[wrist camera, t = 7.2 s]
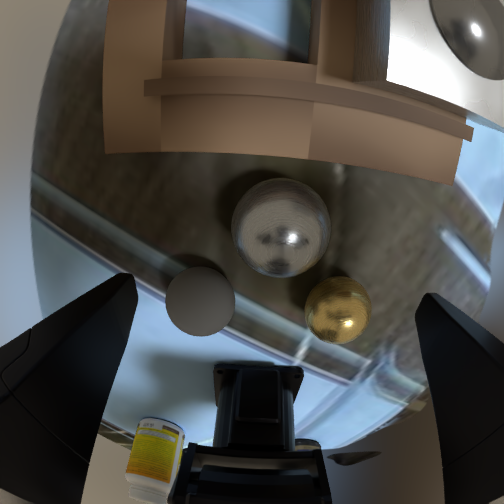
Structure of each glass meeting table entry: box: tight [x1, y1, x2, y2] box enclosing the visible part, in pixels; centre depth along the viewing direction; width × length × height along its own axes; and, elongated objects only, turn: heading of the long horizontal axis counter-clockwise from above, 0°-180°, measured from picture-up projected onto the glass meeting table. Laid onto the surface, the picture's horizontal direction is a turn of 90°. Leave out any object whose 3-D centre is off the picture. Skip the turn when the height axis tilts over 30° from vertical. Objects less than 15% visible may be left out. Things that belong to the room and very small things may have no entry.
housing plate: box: [103, 0, 474, 186], centre depth 7 cm, size 12×14×3 cm
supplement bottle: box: [125, 418, 185, 504], centre depth 23 cm, size 6×6×10 cm
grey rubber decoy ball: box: [165, 267, 235, 336], centre depth 14 cm, size 4×4×4 cm
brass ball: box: [305, 276, 372, 344], centre depth 14 cm, size 4×4×4 cm
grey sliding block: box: [352, 0, 504, 133], centre depth 5 cm, size 6×6×3 cm
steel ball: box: [231, 178, 331, 278], centre depth 11 cm, size 4×4×4 cm
